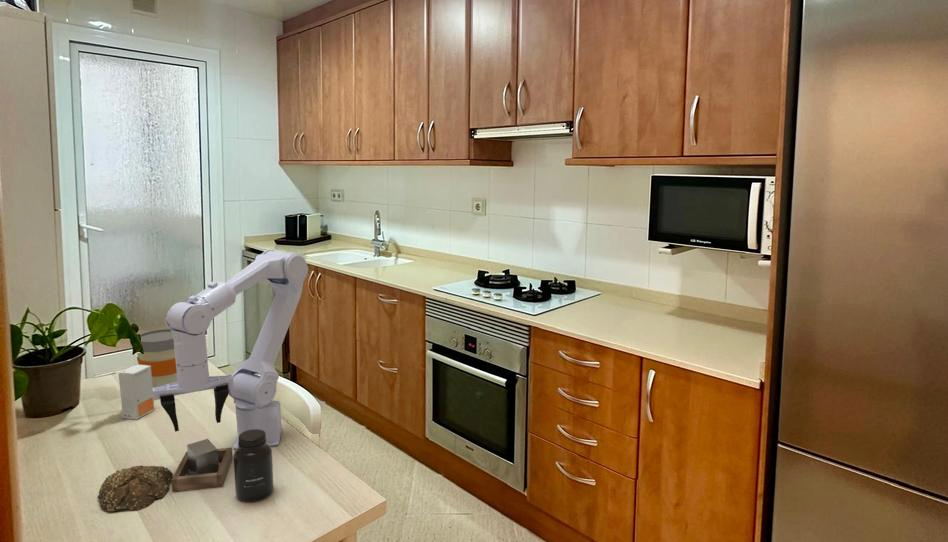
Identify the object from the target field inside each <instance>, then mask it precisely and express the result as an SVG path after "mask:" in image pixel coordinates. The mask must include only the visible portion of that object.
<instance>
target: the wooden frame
mask: <svg viewBox="0 0 948 542" xmlns="http://www.w3.org/2000/svg"><path fill="white" fill-rule="evenodd" d="M217 450H218V462H219V463H220V464H219V470H218V472H217V473H208V474H198V475H192V474H191V475H190V474H189V475H187V474H188V472H189V461H188V451H185V453H184V455H183V457H182V459H181V461H180V463H179V464H178V466H177V469H176V470H175V473H174V474H173V476H172V477H173V478H172V479H171V483H170V484H171V490H172V493H173V492H175V493H176V492H184V490H185V491H192V490H193V489H194V490H202V489H210V488H219V487H223V486H224V483H225V482H226V479H227V476H228V473H229V471H230V467H231V465H232V462H233V460H234V452H233V447H223V448H221V447H220V448H217ZM201 488H202V489H201ZM191 489H192V490H191Z"/></svg>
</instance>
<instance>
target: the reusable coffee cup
mask: <svg viewBox="0 0 948 542" xmlns="http://www.w3.org/2000/svg"><path fill="white" fill-rule="evenodd" d="M138 335H140V337H141V342H142V346H143V350H144V354H141V353H137V357H136V359H137V364H138V365H148V366H151V374H152V386H153V388H155V387H160V386H164V385H167V384H171V383H174V382H178V380H177V370H176V360H175V350H174V340H173V337H172V331H171V330H170V329H169V328H161V329H160V328H159V329H155V330H149V331H146V332H142V333H140V334H138Z"/></svg>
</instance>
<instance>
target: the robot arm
mask: <svg viewBox="0 0 948 542" xmlns="http://www.w3.org/2000/svg"><path fill="white" fill-rule="evenodd" d="M308 271H309V267H308V263H307V261H306V258H305V257H304V255H303V254H301V253H299V252H288V251H287V252H286V251H282V250H281V251H279V250H274V249H267V250H264V251H263V252H262V253H260V254H258V255H256V256H255V259H254V260H253V261H252V262H251V263H250V264H248V265H246V266H245V267H244V268H243V269H242V270H239V272H237V274H235V275H233V276H232V277H231V278H229V279H228V280H226V282H224V281H210V282H209V283H208V284H207V287H206V288H204V289H203V290H201V291H200V292H198V293H197V294H195V295H191V296H189V297H188V300H186V302H185V301H183V302H181V301H179V302H176V303H174V304H173V305H172V306H171V307H170V308H169V309H168V311H167V314H166V317H165V318H164V323H165V326H166V327H167V329H170V330H171V331H172V337H173V340H174V350H175V360H176V370H177V380H178V382H174V383H171V384H167V385H164V386H160V387H155V388H153V398H154V401H159V400H160V405H161V407H162V408H163V410H164V411H165V413H167V415H168V417H169V418H170V421H171V423H172V425H173V429H174V432H180V429H179V422H178V416H177V409H176V399H175V397H176V396H179V395H185V394H190V393H195V392H196V393H197V392H203V391H207V390H213V393H214V395H213V396H214V402H215V403H214V405H215V407H214V412H215V413H214V416H215V421H216V424H219V423H221V420H222V419H221V418H222V413H223V408H224V405H225V403H226V400H227V398H228V396H229V397H231V398H232V399H233V404H235V417H236V431H237V437H236V439H235V442H234V445H233V450H237V448H239V445H238V443H239V435H240V434H241V433H243V432H245V431H248V430H253V429H259V430H263V431H265V433H266V443H267V444H268V445H269V446H270V447H274V446H279V445H280V442H281V441H280V440H281V437H282V433H283V424H282V414H281V413H282V412H281V411H282V410H281V402H280V401H279V400H274V399H275V396H276V394H277V384H278V380H279V378H280V377H279V376H280V375H279V372H278V371H277V369H276V368H275V362H276V360H277V358H278V356H279V355H278V354H279V352H280V350H281V347H282V345H283V342H284V341H285V337H286V334H287V332H288V329H290V328H289V327H290V324H291V322H292V320H293V317H294V315H295V313H296V309H297V307H298V305H299V302H300V301H301V300H300V299H301V297H302V295H303V285H304V282H305V279H306V278H307V277H306V276H307V274H308V273H309V272H308ZM264 279H266V281H267V282H268V284H269V285H270V286H271V287H272V288H273V291H274V293H275V295H274V297H273V300H272V303H271V305H270V306H269V310H268V312H267V314H266V317H265V320H264V321H263V324H262V327H261V328H260V332H259V333H258V336H257V339H256V341H255V343H254V346H253V349H252V350H251V354H250V356H249V358H247V359H245V360H244V361H242V362H240V363H239V364H238V365H237V369H236V370H235V371H234V373H233V374H227V375H226V374H225V375H213V376H210V371H209V362H208V360H209V358H208V348H207V339H206V338H207V337H206V331H207V330H208V329H209V327H210V325H211V322H212V320H214V319H215V318H216V317H217V316H219V315H220V314H222V313H223V312H224V311H226V310H227V309H229V308H230V307H231V306H233V305H235V303H236V299H237V295H240V294H241V293H242V292H244V291H246V290H248V289H249V288H251V287H253V286H254V285H256V284H258V283H259V282H261V281H262V280H264ZM257 374H259V375H257Z"/></svg>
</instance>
